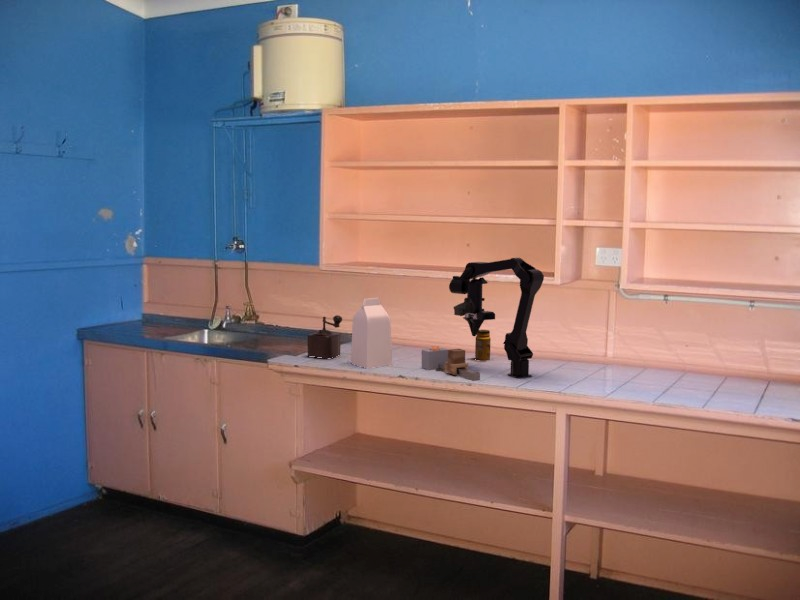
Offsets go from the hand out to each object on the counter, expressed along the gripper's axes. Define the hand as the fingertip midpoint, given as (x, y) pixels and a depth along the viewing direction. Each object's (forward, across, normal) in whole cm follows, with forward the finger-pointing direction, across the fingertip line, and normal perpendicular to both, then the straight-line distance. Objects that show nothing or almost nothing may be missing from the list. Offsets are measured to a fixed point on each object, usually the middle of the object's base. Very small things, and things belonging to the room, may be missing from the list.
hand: (474, 336), depth 305 cm
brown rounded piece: (+7, -8, -12) cm, 16 cm away
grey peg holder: (+12, -8, -12) cm, 19 cm away
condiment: (+13, -14, +14) cm, 24 cm away
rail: (+12, +7, -12) cm, 19 cm away
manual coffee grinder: (+13, -49, -37) cm, 63 cm away
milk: (+13, -26, -30) cm, 42 cm away
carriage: (+12, +6, -12) cm, 18 cm away
